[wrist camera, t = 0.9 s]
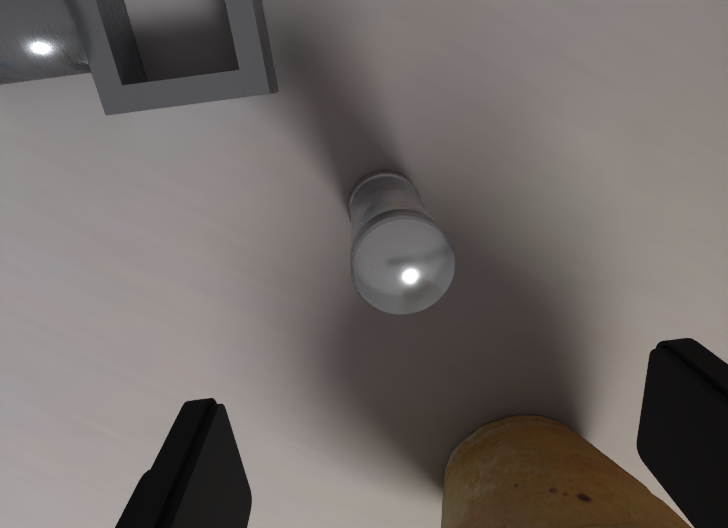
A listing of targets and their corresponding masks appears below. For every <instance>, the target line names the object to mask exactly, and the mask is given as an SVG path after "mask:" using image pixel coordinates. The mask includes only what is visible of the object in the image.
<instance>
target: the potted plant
mask: <svg viewBox="0 0 728 528" xmlns="http://www.w3.org/2000/svg"><path fill="white" fill-rule="evenodd" d="M441 528H691V527H690V526H689V525H688V524H687V523H686V522H685V521H684V520H683V519H682V518H681V517H680V516H679V515H678V514H676V513H675V512H674V511H673V510H672V509H671V508H670V507H669V506H668V505H667V504H666V503H665V502H663V501H662V500H661V499H659V498H658V497H656V496H655V495H653V494H652V493H651V492H650V491H649V490H648V489H647V487H646V486H645V485H643V484H642V483H641V482H640V481H638V480H637V479H636V478H634V477H633V476H632V475H630V474H629V473H628V472H626V471H625V470H624V469H622V468H621V467H620V466H619V465H617V464H616V463H615V462H614V461H612V460H611V459H610V458H608V457H607V456H606V455H604V454H603V453H602V452H601V451H599V450H598V449H597V448H596V447H594V446H593V445H592V444H590V443H589V442H588V441H586V440H585V439H583V438H582V437H581V436H579V435H578V434H577V433H576V432H574V431H573V430H572V429H571V428H570V427H568V426H566V425H564V424H562V423H560V422H558V421H556V420H552V419H549V418H545V417H542V416H539V415H521V416H509V417H506V418H503V419H500V420H497V421H494V422H491V423H488V424H485V425H482V426H481V427H480V428H478V429H477V430H476V431H474V432H473V433H472V434H471V435H469V436H468V437H467V438H465V439H464V440H463V441H462V442H461V443H460V444H459V445H458V446H457V447H456V448H455V449H454V450H453V451H452V453H451V455H450V458H449V461H448V463H447V466H446V469H445V476H444V489H443V502H442V520H441Z"/></svg>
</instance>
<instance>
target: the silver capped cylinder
mask: <svg viewBox="0 0 728 528" xmlns="http://www.w3.org/2000/svg"><path fill="white" fill-rule="evenodd" d="M349 218H350V222H351V232H352V247H351V254H350V263H351V276H352V281H353V283H354V286H355V288H356V290H357V292H358V293H359V294H360V296H361V297H362V298H363V299H364V300H365V301H366V302H367V303H368V304H370V305H371V306H373V307H374V308H376V309H378V310H381V311H383V312H387V313H391V314H411V313H416V312H419V311H422V310H424V309H426V308H428V307H430V306H431V305H433V304H434V303H436V302H437V301H438V300H439V299H440V298H441V297H442V296H443V295H444V294H445V292H446V291H447V290H448V288H449V286H450V284H451V282H452V280H453V277H454V274H455V268H456V259H455V253H454V249H453V247H452V244H451V242H450V241H449V239H448V237H447V236H446V234H445V233H444V231H443V230H442V228H441V227H440V226H439V225H438V223H437V222H435V221H434V220H433V219H432V217H431V216H430V214H429V213H428V211H427V210H426V208H425V206H424V205H423V203H422V202H421V200H420V197H419V194H418V192H417V191H416V189H415V188H414V186H413V185H412V183H411V182H410V181H409V180H408V179H407V178H406V177H404V176H403V175H401V174H399V173H397V172H394V171H388V170H381V171H375V172H372V173H370V174H368V175H366V176H364V177H363V178H362V179H361V180H359V181H358V182H357V184H356V185H355V186H354V188H353V190H352V192H351V194H350V198H349Z"/></svg>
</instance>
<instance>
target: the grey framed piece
mask: <svg viewBox="0 0 728 528" xmlns="http://www.w3.org/2000/svg"><path fill="white" fill-rule="evenodd" d="M225 4H226V9H227V13H228V18H229V23H230V27H231V32H232V37H233V42H234V46H235V51H236V56H237V60H238V65H239V70H234V71H226V72H219V73H211V74H204V75H196V76H189V77H181V78H174V79H167V80H159V81H152V82H147V80H146V76H145V73H144V69H143V66H142V62H141V59H140V55H139V52H138V49H137V45H136V42H135V38H134V35H133V31H132V28H131V24H130V21H129V17H128V14H127V10H126V7H125V3H124V0H0V85H2V84H9V83H16V82H24V81H31V80H39V79H46V78H54V77H61V76H68V75H76V74H83V73H92V76H93V79H94V82H95V85H96V88H97V91H98V94H99V97H100V100H101V103H102V106H103V109H104V112H105V115H112V114H120V113H127V112H135V111H142V110H150V109H157V108H165V107H172V106H180V105H187V104H195V103H202V102H210V101H217V100H225V99H232V98H240V97H247V96H255V95H262V94H270V93H276V92H278V87H277V81H276V76H275V71H274V65H273V60H272V54H271V49H270V43H269V38H268V33H267V27H266V22H265V16H264V11H263V5H262V0H225Z"/></svg>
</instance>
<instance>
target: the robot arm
mask: <svg viewBox="0 0 728 528" xmlns="http://www.w3.org/2000/svg"><path fill="white" fill-rule="evenodd" d="M637 450H638V453H639V456H640V458H641V459H642V461H643V462H644V464H645V465H646V466H647V468H648V469H649V470H650V471H651V473H652V474H653V475H654V477H655V478H656V479H657V480H658V482H659V483H660V484H661V485H662V487H663V488H664V489H665V491H666V492H667V493H668V494H669V496H670V497H671V498H672V500H673V501H674V502H675V503H676V505H677V506H678V507H679V508H680V510H681V511H682V512H683V514H684V515H685V516H686V517H687V519H688V520H689V521H690V523H691V524H692V525H693V526H694V528H728V364H727V363H725V362H724V361H723V360H721V359H720V358H719V357H717V356H716V355H715V354H713V353H712V352H710V351H709V350H708V349H706V348H705V347H704V346H702V345H701V344H700V343H698V342H697V341H695V340H693V339H691V338H683V339H675V340H667V341H662V342H659V343H658V344H657V346H656V349H653V350H652V351H651V352H650V355H649V362H648V369H647V375H646V382H645V389H644V396H643V403H642V409H641V416H640V423H639V430H638V436H637ZM251 504H252V496H251V490H250V487H249V483H248V480H247V477H246V474H245V470H244V467H243V464H242V461H241V457H240V454H239V451H238V448H237V444H236V441H235V438H234V435H233V431H232V428H231V425H230V422H229V418H228V415H227V412H226V409H225V406H224V405H223V404H217V403H216V401H215V400H214V399H213V398H208V399H200V400H192V401H187V402H185V403H184V404H183V406H182V408H181V410H180V412H179V414H178V416H177V418H176V420H175V422H174V424H173V426H172V428H171V430H170V432H169V434H168V436H167V438H166V440H165V442H164V444H163V446H162V448H161V450H160V452H159V454H158V456H157V458H156V460H155V462H154V464H153V466H152V468H151V470H148V471H147V472H146V473H144V474H143V476H142V477H141V479H140V480H139V482H138V484H137V486H136V488H135V490H134V492H133V494H132V496H131V498H130V500H129V502H128V504H127V505H126V507H125V509H124V511H123V513H122V515H121V517H120V519H119V521H118V523H117V525H116V527H115V528H247V525H248V520H249V516H250V511H251Z"/></svg>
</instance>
